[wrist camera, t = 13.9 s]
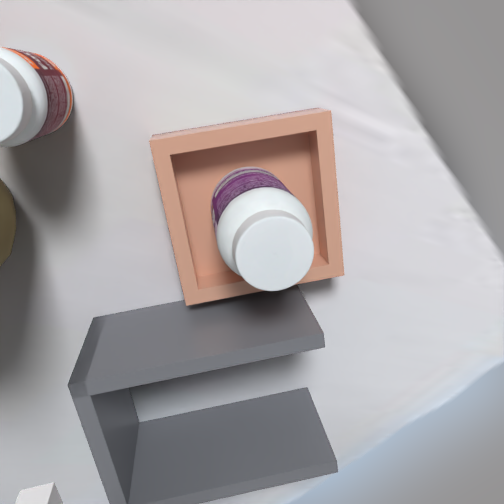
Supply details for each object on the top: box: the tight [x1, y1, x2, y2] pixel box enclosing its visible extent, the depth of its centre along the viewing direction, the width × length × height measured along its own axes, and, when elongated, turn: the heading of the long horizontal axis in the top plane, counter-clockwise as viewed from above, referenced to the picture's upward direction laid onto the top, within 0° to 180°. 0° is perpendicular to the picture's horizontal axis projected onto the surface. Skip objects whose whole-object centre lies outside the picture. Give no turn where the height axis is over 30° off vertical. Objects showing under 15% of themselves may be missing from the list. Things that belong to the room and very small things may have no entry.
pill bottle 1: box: [0, 47, 73, 147], centre depth 24 cm, size 5×5×8 cm
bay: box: [68, 284, 338, 504], centre depth 33 cm, size 15×11×8 cm
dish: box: [149, 108, 344, 306], centre depth 31 cm, size 11×11×3 cm
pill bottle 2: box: [211, 167, 314, 291], centre depth 27 cm, size 5×5×10 cm
